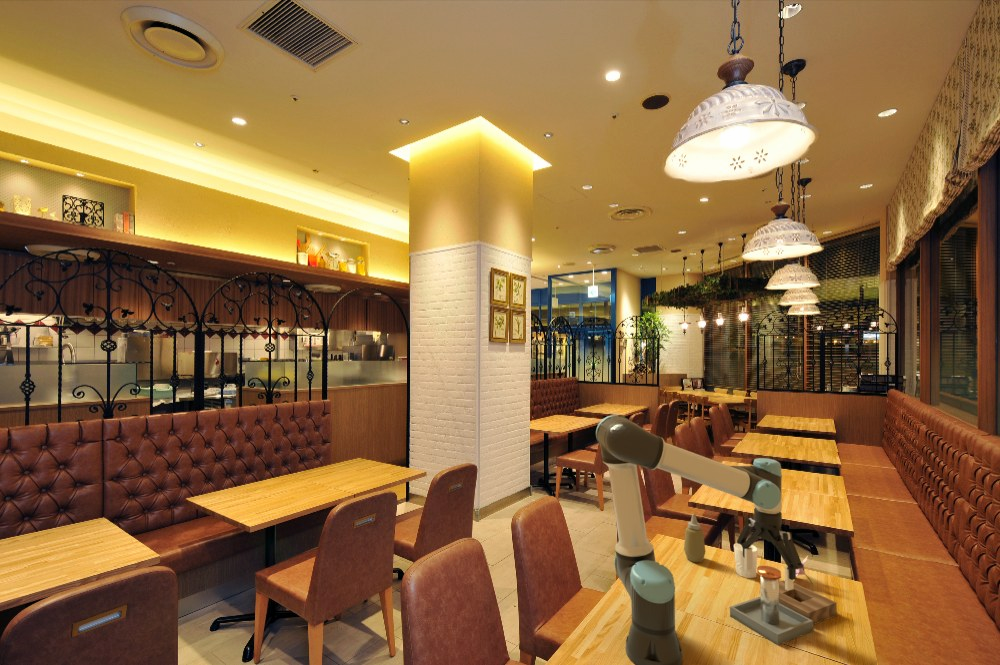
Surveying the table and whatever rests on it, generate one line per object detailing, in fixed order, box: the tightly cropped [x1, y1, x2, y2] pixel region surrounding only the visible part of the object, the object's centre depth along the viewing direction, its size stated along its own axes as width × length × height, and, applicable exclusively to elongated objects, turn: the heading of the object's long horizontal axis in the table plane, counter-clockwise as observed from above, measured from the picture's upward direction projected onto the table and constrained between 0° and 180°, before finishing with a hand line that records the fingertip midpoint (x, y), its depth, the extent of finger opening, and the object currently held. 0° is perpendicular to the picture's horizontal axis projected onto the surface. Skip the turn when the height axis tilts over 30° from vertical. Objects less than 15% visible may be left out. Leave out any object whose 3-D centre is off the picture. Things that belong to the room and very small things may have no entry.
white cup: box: [733, 542, 758, 579], centre depth 177 cm, size 8×8×10 cm
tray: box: [729, 596, 814, 646], centre depth 146 cm, size 16×16×3 cm
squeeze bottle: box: [683, 513, 706, 563], centre depth 189 cm, size 8×8×18 cm
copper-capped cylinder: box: [756, 565, 782, 625], centre depth 146 cm, size 6×6×15 cm
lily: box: [796, 555, 814, 586], centre depth 171 cm, size 12×12×10 cm
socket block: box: [779, 580, 838, 626], centre depth 154 cm, size 14×16×4 cm
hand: (768, 578), depth 146 cm, fingers open, 13 cm apart
